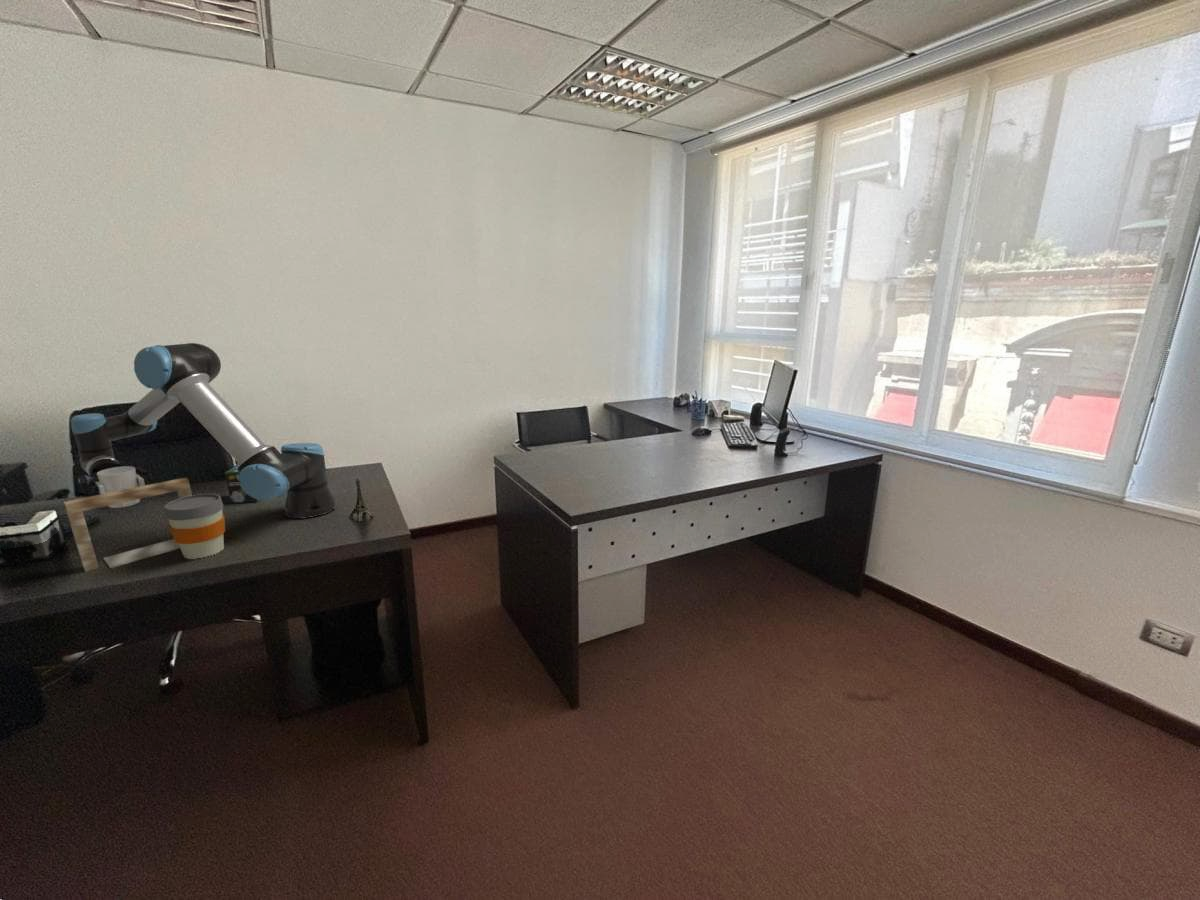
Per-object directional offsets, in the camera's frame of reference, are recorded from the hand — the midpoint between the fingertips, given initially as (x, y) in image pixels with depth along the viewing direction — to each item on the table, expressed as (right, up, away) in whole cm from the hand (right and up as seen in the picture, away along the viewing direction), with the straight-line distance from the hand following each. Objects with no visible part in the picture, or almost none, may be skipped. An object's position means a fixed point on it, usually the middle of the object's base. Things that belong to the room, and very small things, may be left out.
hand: (123, 487), depth 139 cm
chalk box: (+8, -7, +40) cm, 41 cm away
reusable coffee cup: (+21, -18, +1) cm, 28 cm away
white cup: (-4, -5, +5) cm, 8 cm away
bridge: (+6, -18, 0) cm, 19 cm away
